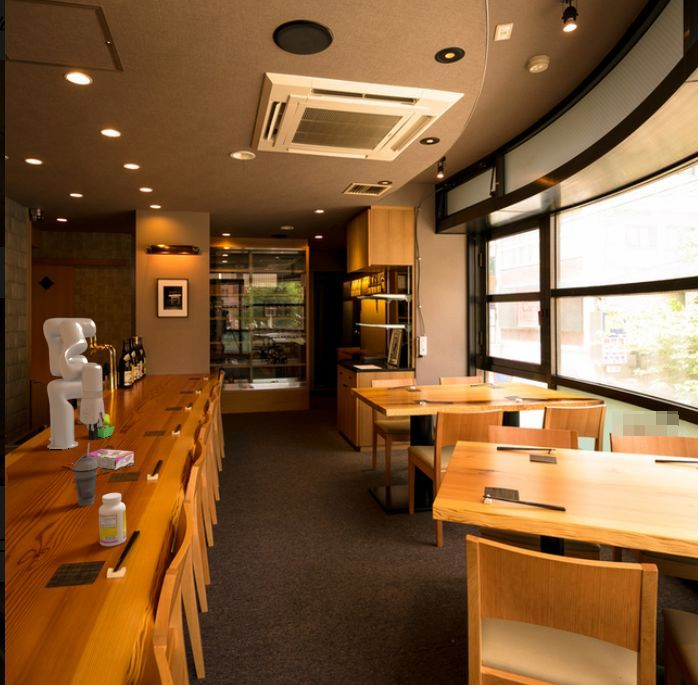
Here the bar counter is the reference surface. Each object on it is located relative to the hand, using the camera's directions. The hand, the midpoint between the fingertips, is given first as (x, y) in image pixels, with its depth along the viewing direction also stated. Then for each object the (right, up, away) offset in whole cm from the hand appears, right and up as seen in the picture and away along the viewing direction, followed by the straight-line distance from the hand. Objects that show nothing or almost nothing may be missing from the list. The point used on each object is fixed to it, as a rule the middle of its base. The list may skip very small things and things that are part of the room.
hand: (93, 439), depth 211 cm
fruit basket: (-21, -8, +50) cm, 55 cm away
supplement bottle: (+40, -15, -71) cm, 83 cm away
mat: (+2, -11, -1) cm, 11 cm away
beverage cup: (+19, -13, -42) cm, 48 cm away
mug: (-45, -6, +88) cm, 99 cm away
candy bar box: (-2, -8, +2) cm, 8 cm away
